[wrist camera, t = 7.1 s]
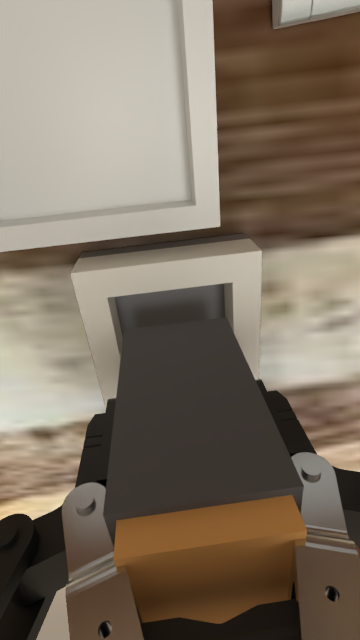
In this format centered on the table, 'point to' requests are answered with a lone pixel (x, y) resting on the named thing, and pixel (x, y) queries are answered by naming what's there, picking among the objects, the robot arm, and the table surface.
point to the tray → (106, 120)
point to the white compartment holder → (168, 294)
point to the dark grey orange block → (198, 477)
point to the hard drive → (309, 11)
